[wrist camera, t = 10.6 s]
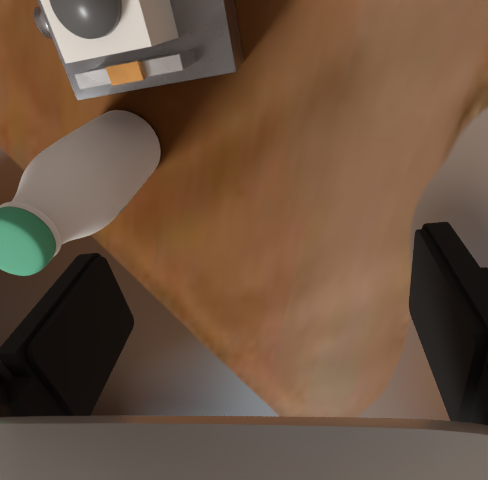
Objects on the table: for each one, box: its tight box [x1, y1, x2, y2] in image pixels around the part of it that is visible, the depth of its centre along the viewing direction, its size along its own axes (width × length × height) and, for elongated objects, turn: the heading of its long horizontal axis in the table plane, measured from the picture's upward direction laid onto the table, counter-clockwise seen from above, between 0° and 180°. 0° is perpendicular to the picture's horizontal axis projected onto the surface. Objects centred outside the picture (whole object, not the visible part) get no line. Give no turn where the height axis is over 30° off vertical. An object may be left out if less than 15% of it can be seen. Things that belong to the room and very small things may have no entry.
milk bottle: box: [0, 110, 161, 276], centre depth 31 cm, size 8×8×20 cm
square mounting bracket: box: [34, 0, 244, 100], centre depth 27 cm, size 16×12×11 cm
